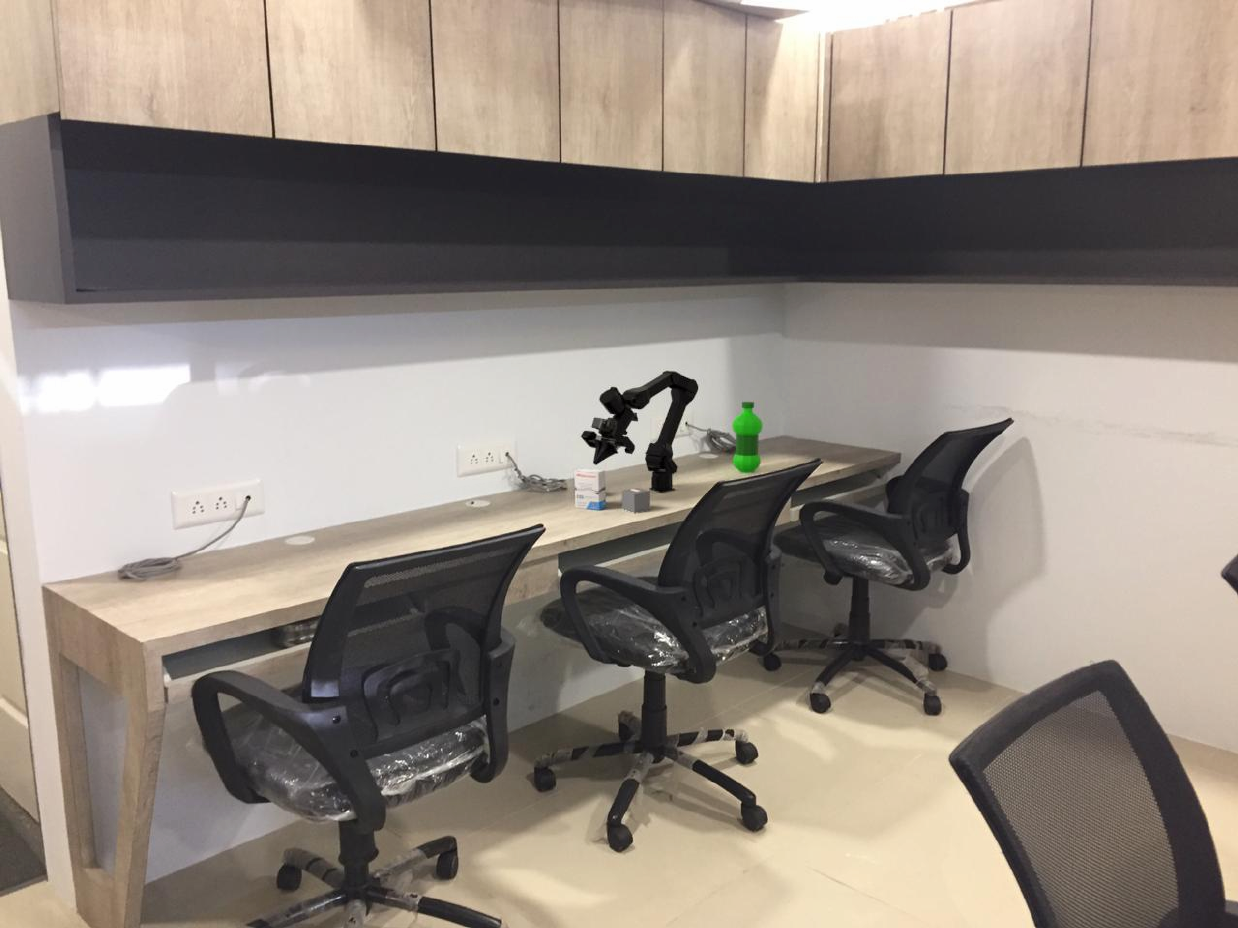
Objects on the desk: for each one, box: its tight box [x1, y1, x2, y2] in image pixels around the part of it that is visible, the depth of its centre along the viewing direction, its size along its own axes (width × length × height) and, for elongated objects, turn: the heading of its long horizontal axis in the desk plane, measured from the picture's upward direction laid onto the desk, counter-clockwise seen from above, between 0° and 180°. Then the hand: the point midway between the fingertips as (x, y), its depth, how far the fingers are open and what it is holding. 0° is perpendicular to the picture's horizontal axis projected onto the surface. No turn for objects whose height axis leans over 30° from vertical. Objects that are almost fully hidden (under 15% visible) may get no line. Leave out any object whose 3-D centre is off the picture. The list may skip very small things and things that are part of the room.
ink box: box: [573, 468, 607, 511], centre depth 301 cm, size 9×5×12 cm, turn 63°
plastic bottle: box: [732, 401, 763, 474], centre depth 354 cm, size 10×10×25 cm
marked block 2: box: [621, 487, 651, 514], centre depth 298 cm, size 6×6×6 cm
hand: (594, 463), depth 301 cm, fingers closed
